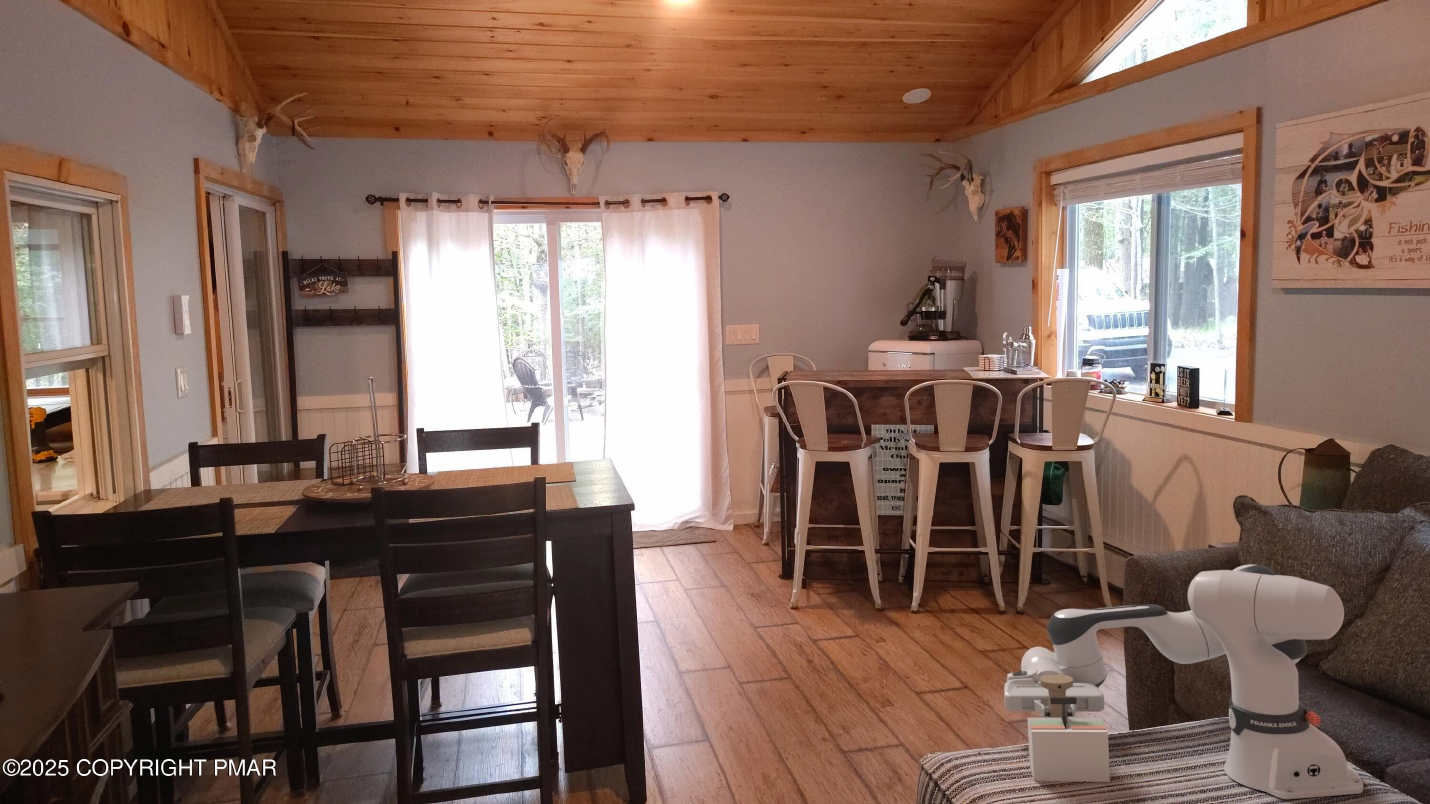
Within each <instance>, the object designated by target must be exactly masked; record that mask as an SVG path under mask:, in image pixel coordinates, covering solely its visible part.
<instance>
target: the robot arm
mask: <svg viewBox="0 0 1430 804" xmlns="http://www.w3.org/2000/svg"><path fill="white" fill-rule="evenodd" d="M1187 589H1188V590H1187V602H1188V606H1189V608H1190V610H1187V611H1181V612H1172V611H1167V610H1166V609H1165V607H1164V606H1161V605H1158V604H1153V603H1152V604H1150V603H1149V604H1148V603H1146V604H1145V603H1144V604H1143V603H1142V604H1129V605H1128V604H1127V605H1125V604H1124V605H1118V606H1117V605H1116V606H1115V605H1114V606H1105V607H1104V606H1103V607H1094V608H1091V607H1090V608H1064V609H1059V610H1057V611H1054V612H1053V613H1052V615H1051V616H1050V618H1049V620H1048V622H1047V624H1046V627H1045V630H1046V631H1047V632H1046V633H1047V634H1048V637H1049V640H1050V642H1051V644H1052V646H1053V647H1052V648H1053V650H1054V651H1051V650H1050V649H1048V648H1046V647H1043V646H1034V647H1032V648H1029V649H1028V650H1026V652H1025V653H1024V654H1023V656H1022V658H1021V663H1020V670H1021V671H1016V672H1009V673H1007V677H1006V682H1005V683H1004V687H1003V690H1004V691H1003V694H1004V696H1003V697H1004V708H1005V710H1006V711H1009V712H1036V713H1038V714H1039V715H1040V714H1041V718H1048V716H1050V714H1049V712H1050V709H1049V693H1048V689H1046V688H1044V687H1043V686H1042V685H1041V684H1040V677H1041V676H1045V675H1053V674H1060V675H1068V676H1070V677H1072V678H1073V686H1072V687H1071V688H1069V689H1067V690H1066V697H1076V698H1077V704H1067V716H1068V718H1076V714H1077V712H1096V713H1097V712H1098V713H1099V712H1102V711H1103V710H1104V709H1105V696H1104V693H1103V692H1102V691H1101V689H1100V687H1101V686H1102V685H1103V684H1104V682H1105V681H1106V679H1107V677H1108V673H1107V670H1106V666H1105V662H1104V658H1103V655H1102V652H1101V649H1100V644H1099V642H1098V638H1097V632H1098V631H1099V630H1102V629H1103V630H1105V629H1114V628H1125V627H1136V628H1138V629H1141V630H1142V631H1143V632H1144V634H1146V636H1147V637H1148V639H1149V640H1150V641H1151V642H1152V644H1153V645H1154V646H1155V648H1156V649H1157V650H1158V651H1159V652H1160V653H1161V654H1162V655H1163V656H1165V657H1166V658H1167V659H1168V660H1170V661H1172V662H1174V663H1177V664H1181V665H1189V664H1195V663H1200V662H1204V661H1206V660H1207V661H1208V660H1211V659H1215V658H1217V657H1220V656H1223V655H1226V657H1227V661H1228V664H1229V665H1228V666H1229V674H1230V683H1231V697H1230V698H1229V707H1228V722H1229V727H1230V731H1231V732H1230V740H1229V749H1228V753H1227V757H1226V760H1225V763H1224V767H1223V768H1224V772H1225V773H1226V775H1227V776H1228V777H1229V778H1230V779H1232V780H1233V781H1235V782H1237V783H1239V784H1240V785H1243V786H1246V787H1248V788H1250V789H1254V790H1259V791H1262V792H1266V793H1267V794H1269V795H1272V796H1274V797H1277V798H1279V799H1283V800H1292V799H1293V800H1295V799H1305V798H1307V799H1308V798H1317V797H1319V798H1320V797H1331V796H1332V797H1333V796H1343V795H1355V794H1357V795H1358V794H1362V793H1363V792H1364V782H1363V780H1362V778H1361V776H1360V775H1359V774H1358V772H1357V771H1356V770H1355V769H1354V768H1353V767H1352V766H1350V765H1349V763H1348V762H1347V758H1346V756H1345V754H1344V751H1343V750H1342V748H1341V747H1340V746H1339V745H1338V743H1337V742H1336V741H1334V739H1332V738H1331V737H1330V736H1328V735H1327V734H1326V733H1324V732H1323V731H1322V730H1320V729H1318V728H1317V726H1319V725H1320V724H1321V723H1322V722H1321V721H1322V720H1321V717H1320V716H1319V715H1317V713H1316V712H1314V711H1311V710H1310V708H1309V707H1307V706H1305V705H1304V704H1302V703H1301V702H1300V699H1299V698H1300V697H1299V672H1298V669H1297V666H1296V664H1297V663H1298V662H1299V661H1300V660H1301V659H1302V658H1305V657H1306V655H1307V653H1308V647H1307V643H1306V642H1307V641H1306V640H1329V639H1331V638H1332V637H1333V636H1335V635H1336V634H1337V633H1338V632H1339V630H1340V629H1341V627H1342V625H1343V622H1344V620H1345V619H1344V618H1345V610H1344V609H1345V608H1344V603H1343V602H1342V599H1341V598H1340V597H1341V596H1339V595H1338V593H1337V592H1336V591H1335V590H1334V588H1333V587H1331V586H1330V585H1329V586H1328V585H1326V584H1321V583H1319V582H1316V581H1312V580H1311V581H1310V580H1308V579H1304V578H1301V577H1298V576H1293V575H1282V574H1281V573H1275V572H1274V570H1273V569H1271V568H1270V567H1268V566H1266V565H1263V564H1249V563H1248V564H1243V565H1240V566H1237V567H1235V568H1234V569H1231V570H1230V569H1218V570H1217V569H1216V570H1206V571H1200V572H1199V573H1198V574H1196V575H1195V576H1194V577H1193V579H1192V580H1191V582H1190V584H1189V586H1188V588H1187Z"/></svg>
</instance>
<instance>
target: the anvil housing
mask: <svg viewBox="0 0 1430 804" xmlns="http://www.w3.org/2000/svg"><path fill="white" fill-rule="evenodd" d="M1067 722H1068V729H1065V726H1064V724H1063V721H1062V719H1061V718H1048V717H1027V733H1028V755H1029V757H1028V759H1029V767H1030V771H1031V775H1032V778H1033V781H1034V782H1083V783H1084V781H1085V782H1087V783H1088V782H1090V783H1091V782H1093V783H1094V782H1095V783H1097V782H1098V783H1101V782H1102V783H1110V782H1111V778H1110V777H1111V776H1110V754H1109V753H1110V751H1109V747H1110V746H1109V732H1108V731H1109V730H1108V729H1107V726H1106V724H1105V722H1104V721H1103V718H1102V717H1068V718H1067Z"/></svg>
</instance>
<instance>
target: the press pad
mask: <svg viewBox="0 0 1430 804" xmlns="http://www.w3.org/2000/svg"><path fill="white" fill-rule="evenodd" d="M1050 704H1062V721H1063V724H1064V726H1065V729H1068V722H1066V711H1065V704H1077V698H1076V697H1050Z"/></svg>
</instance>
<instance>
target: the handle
mask: <svg viewBox="0 0 1430 804" xmlns="http://www.w3.org/2000/svg"><path fill="white" fill-rule="evenodd" d="M1040 684H1041V685H1042V686H1043V687H1044V688H1046V689H1048V693H1049V709H1050V712H1049V714H1050V716H1048V717H1047V718H1061V719H1062V704H1050V697H1066V690H1067V689H1069V688H1071V687H1072V686H1073V678H1072V677H1070V676H1068V675H1060V674H1053V675H1045V676H1041V677H1040ZM1065 711H1066V722H1067V718H1069V717H1068V716H1067V704H1065Z"/></svg>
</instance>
